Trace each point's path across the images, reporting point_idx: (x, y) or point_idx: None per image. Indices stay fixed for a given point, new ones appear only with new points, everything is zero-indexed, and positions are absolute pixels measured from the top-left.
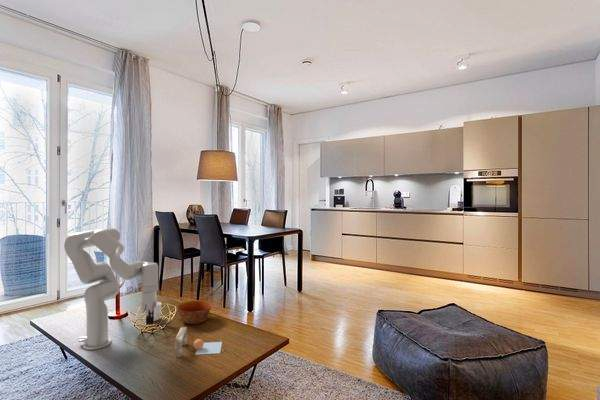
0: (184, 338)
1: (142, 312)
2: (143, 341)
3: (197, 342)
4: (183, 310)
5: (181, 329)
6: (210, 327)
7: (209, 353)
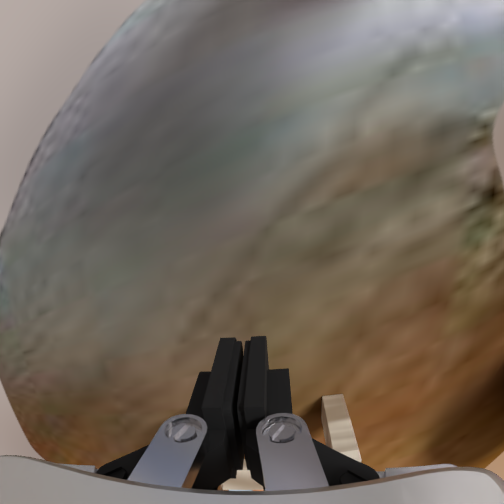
0: (325, 437)
1: (2, 467)
2: (401, 171)
3: (255, 490)
4: None
5: None
6: (466, 439)
7: (230, 490)
